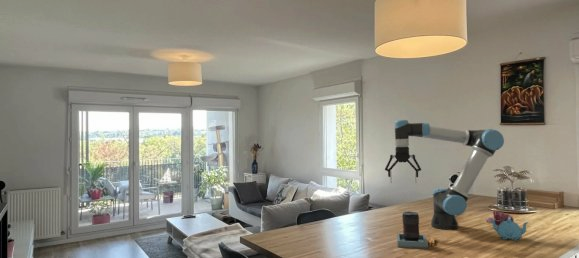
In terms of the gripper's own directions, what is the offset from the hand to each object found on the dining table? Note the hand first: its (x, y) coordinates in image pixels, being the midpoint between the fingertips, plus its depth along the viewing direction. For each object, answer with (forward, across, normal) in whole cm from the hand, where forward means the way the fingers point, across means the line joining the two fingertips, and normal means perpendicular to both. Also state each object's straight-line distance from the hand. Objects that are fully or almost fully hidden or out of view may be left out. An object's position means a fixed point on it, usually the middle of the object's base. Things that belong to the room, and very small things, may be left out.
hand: (403, 182), depth 205 cm
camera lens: (+28, -2, +22) cm, 36 cm away
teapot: (+29, -53, +3) cm, 60 cm away
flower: (+29, -55, -20) cm, 65 cm away
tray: (+29, -2, +22) cm, 36 cm away
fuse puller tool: (+29, -13, +18) cm, 36 cm away
